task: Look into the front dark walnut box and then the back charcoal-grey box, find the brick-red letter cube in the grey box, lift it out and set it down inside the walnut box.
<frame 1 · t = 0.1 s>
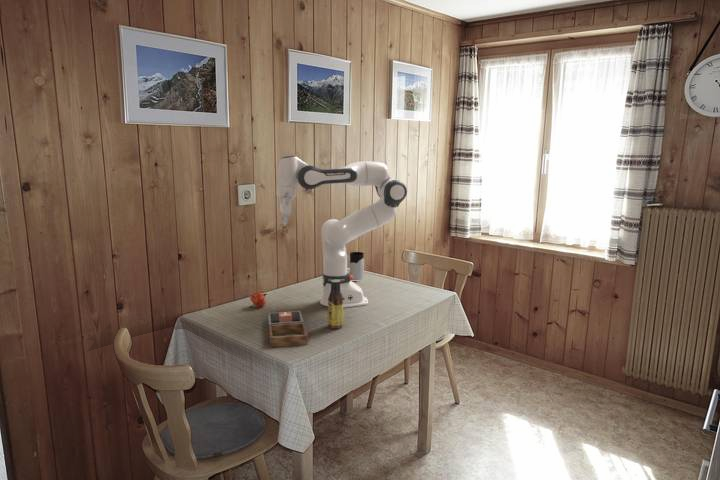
hand: (284, 222, 227), 39 cm above the table, tool pointing down, fingers open, 8 cm apart
pomegranate: (258, 307, 231), on the table
walnut box: (288, 338, 194), on the table
grey box: (285, 325, 208), on the table
letter cube: (285, 319, 208), in the grey box
sauce bottle: (335, 327, 207), on the table
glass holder: (352, 279, 280), on the table
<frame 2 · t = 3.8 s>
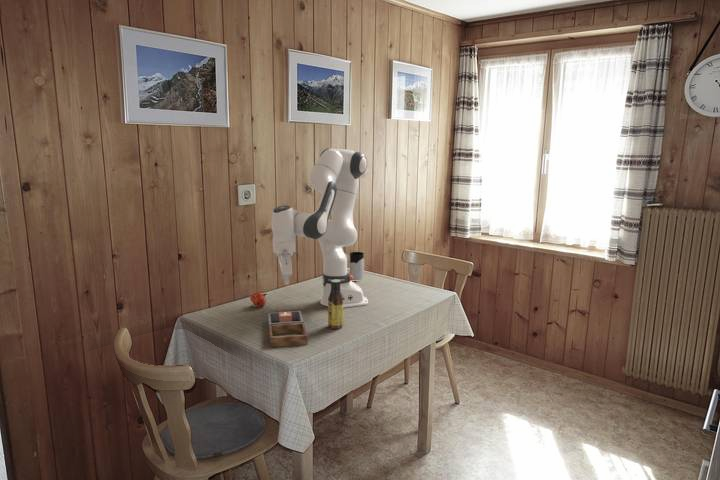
hand: (286, 281, 201), 20 cm above the table, tool pointing down, fingers open, 8 cm apart
nothing on the table moved.
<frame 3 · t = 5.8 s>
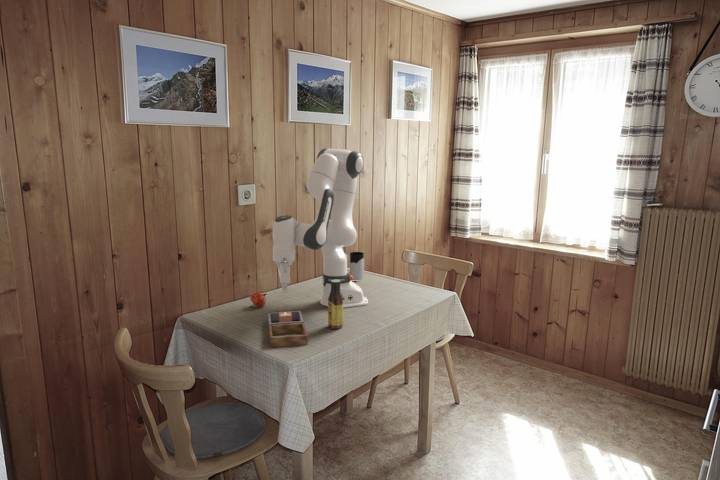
hand: (284, 289, 205), 15 cm above the table, tool pointing down, fingers open, 8 cm apart
nothing on the table moved.
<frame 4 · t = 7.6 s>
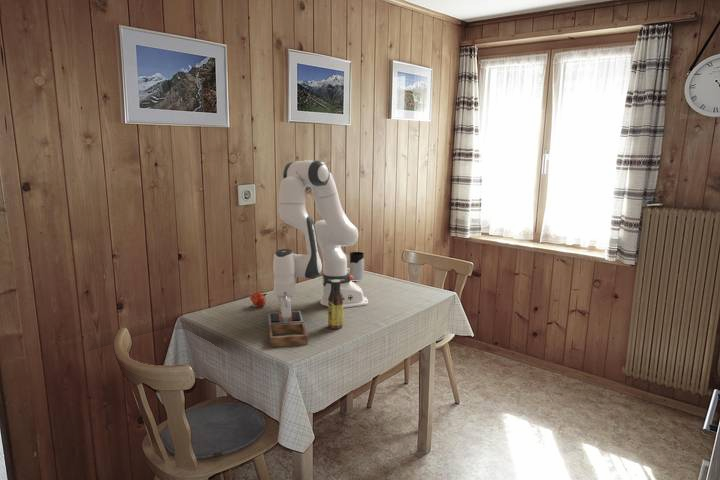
hand: (285, 321, 208), 2 cm above the table, tool pointing down, fingers closed on letter cube, 5 cm apart
letter cube: (285, 319, 208), in the grey box, touching gripper
everything else where it was.
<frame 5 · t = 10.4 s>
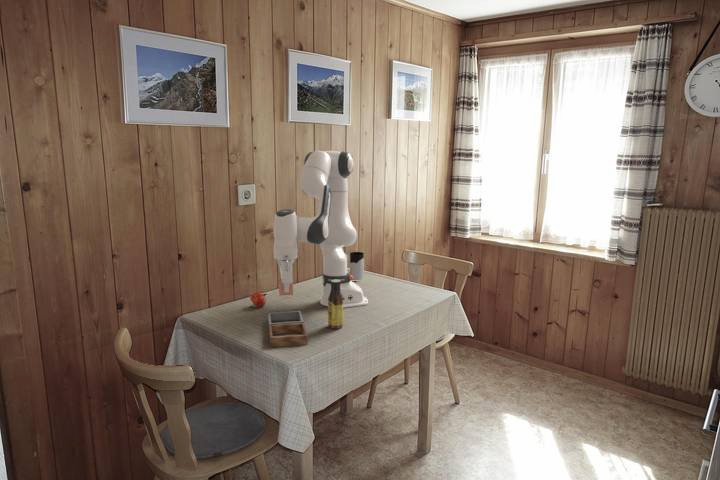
hand: (286, 289, 191), 20 cm above the table, tool pointing down, fingers closed on letter cube, 5 cm apart
letter cube: (285, 286, 190), point 21 cm above the table, touching gripper
everything else where it was.
when the fingers open (3 cm above the table, at t = 13.5 s): letter cube drops 2 cm, resting in walnut box.
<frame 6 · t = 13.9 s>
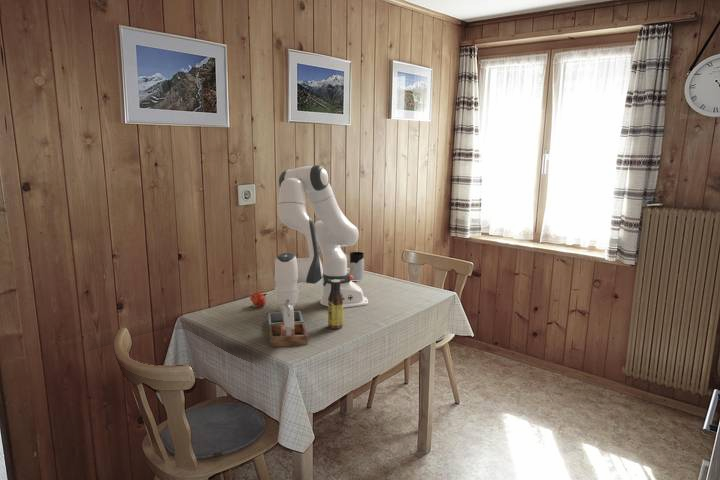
hand: (287, 331, 194), 3 cm above the table, tool pointing down, fingers open, 8 cm apart
letter cube: (287, 332, 194), in the walnut box
everything else where it was.
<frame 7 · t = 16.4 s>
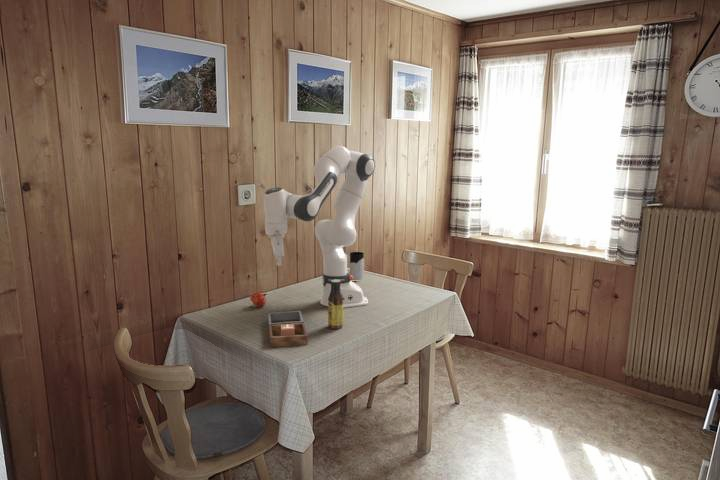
hand: (278, 262, 204), 27 cm above the table, tool pointing down, fingers open, 8 cm apart
nothing on the table moved.
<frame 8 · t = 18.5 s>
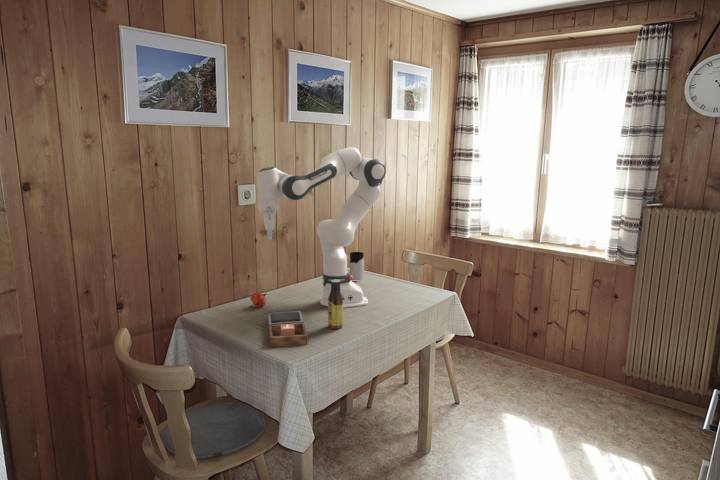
hand: (269, 237, 216), 34 cm above the table, tool pointing down, fingers open, 8 cm apart
nothing on the table moved.
at the end: letter cube inside the target area on the walnut box (0.1 cm from its centre), point 2.4 cm above the walnut box's base; the gripper is holding nothing; letter cube tilted 0° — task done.
